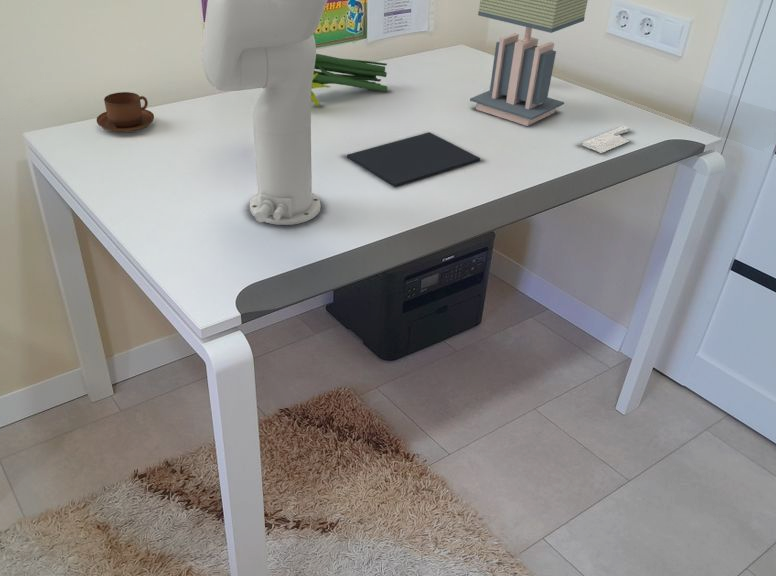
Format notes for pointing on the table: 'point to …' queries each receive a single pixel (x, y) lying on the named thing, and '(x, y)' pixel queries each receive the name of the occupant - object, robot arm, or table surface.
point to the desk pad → (412, 158)
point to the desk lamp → (525, 58)
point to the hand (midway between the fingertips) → (235, 42)
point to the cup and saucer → (125, 113)
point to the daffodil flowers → (355, 69)
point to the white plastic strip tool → (607, 140)
